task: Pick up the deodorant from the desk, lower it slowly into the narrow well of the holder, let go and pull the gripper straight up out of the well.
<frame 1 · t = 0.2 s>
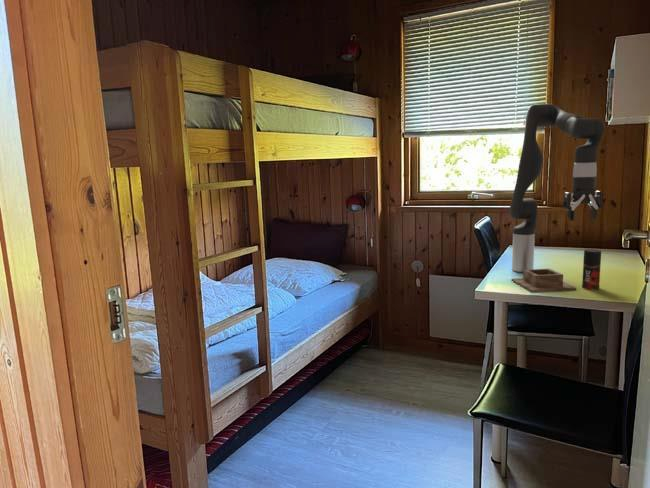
hand: (581, 220, 179), 29 cm above the table, tool pointing down, fingers open, 8 cm apart
well holder: (542, 285, 201), on the table
deodorant: (590, 288, 194), on the table
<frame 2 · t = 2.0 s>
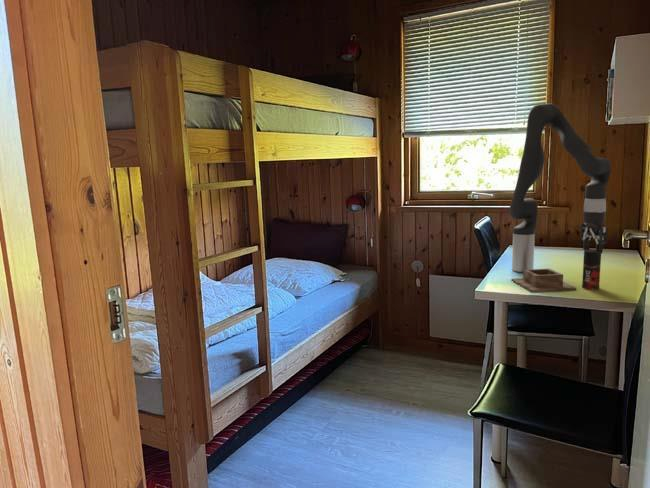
hand: (592, 251, 192), 15 cm above the table, tool pointing down, fingers open, 8 cm apart
nothing on the table moved.
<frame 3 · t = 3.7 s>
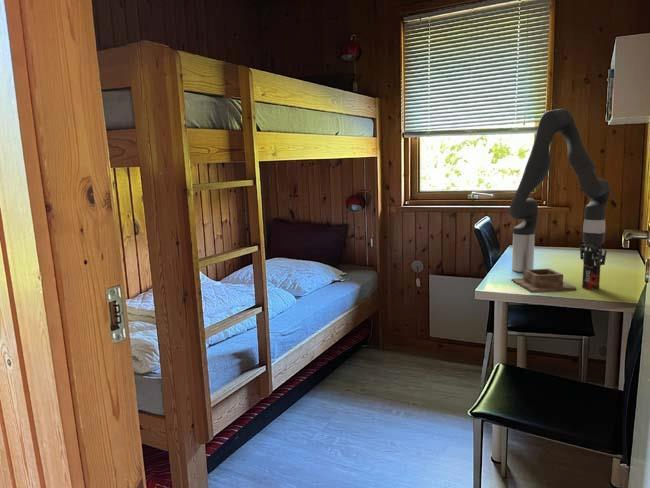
hand: (591, 272, 193), 6 cm above the table, tool pointing down, fingers closed on deodorant, 6 cm apart
deodorant: (590, 288, 194), on the table, touching gripper
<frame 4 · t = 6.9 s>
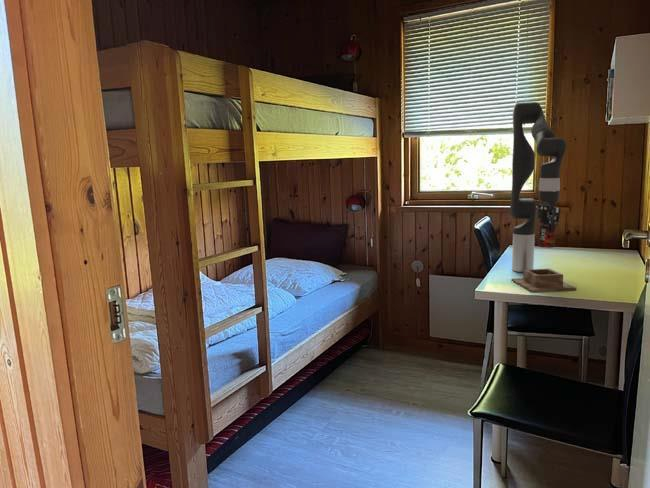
hand: (547, 231, 197), 22 cm above the table, tool pointing down, fingers closed on deodorant, 6 cm apart
deodorant: (546, 246, 198), point 16 cm above the table, touching gripper
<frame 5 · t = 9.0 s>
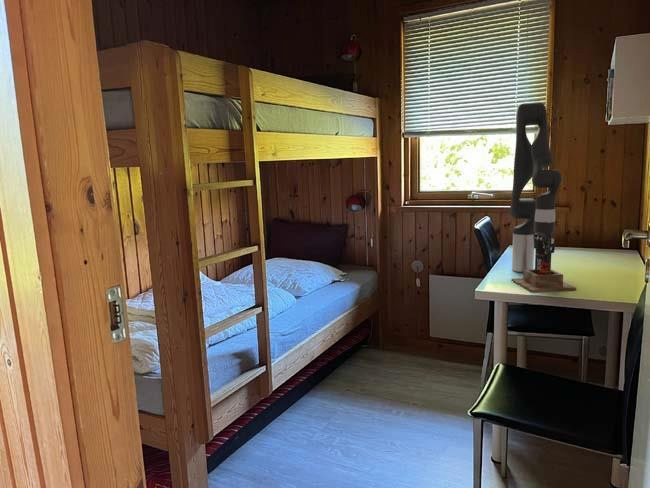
hand: (543, 261, 199), 10 cm above the table, tool pointing down, fingers closed on deodorant, 6 cm apart
deodorant: (542, 276, 200), point 4 cm above the table, touching gripper
when the fingers open (8 cm above the table, at t = 10.4 s): deodorant stays where it is, resting on well holder.
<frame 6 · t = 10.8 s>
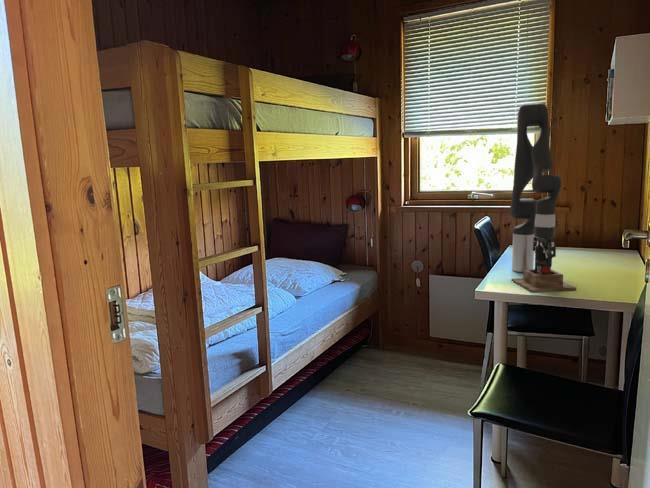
hand: (543, 264, 199), 9 cm above the table, tool pointing down, fingers open, 8 cm apart
deodorant: (542, 283, 201), point 1 cm above the table, touching well holder
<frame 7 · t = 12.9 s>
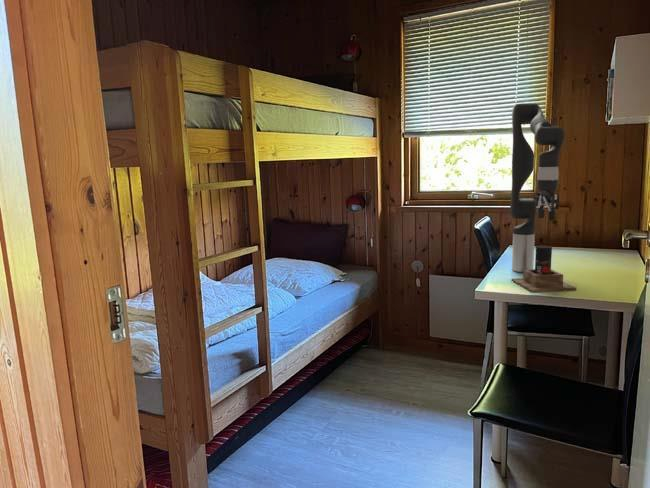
hand: (546, 219, 196), 27 cm above the table, tool pointing down, fingers open, 8 cm apart
nothing on the table moved.
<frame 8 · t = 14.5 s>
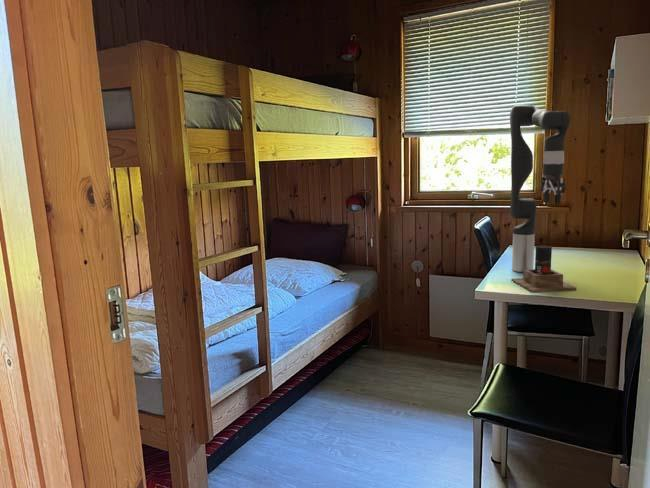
hand: (551, 203, 198), 33 cm above the table, tool pointing down, fingers open, 8 cm apart
nothing on the table moved.
at the end: deodorant 0.1 cm off-centre on the well holder, point 0.8 cm above the well holder's base; deodorant tilted 0°; the gripper is holding nothing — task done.
